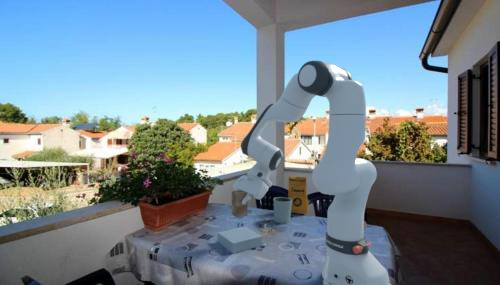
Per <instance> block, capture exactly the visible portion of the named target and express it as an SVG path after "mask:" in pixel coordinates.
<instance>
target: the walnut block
mask: <svg viewBox="0 0 500 285" xmlns="http://www.w3.org/2000/svg"><path fill="white" fill-rule="evenodd" d="M247 194H248V193H246V192H243V191H241V190H239V191H235V190H234V191H231V215H232V216H234V217H235V218H241V217H246V216H249V214H248V213H249V212H248V209H249V208H248V205H249V204H248V202H249V201H247V202H246V203H245V204H242V203H241V202H240V201H241V200H242V198H243V199H244V198H245V197H246V195H247Z"/></svg>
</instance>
